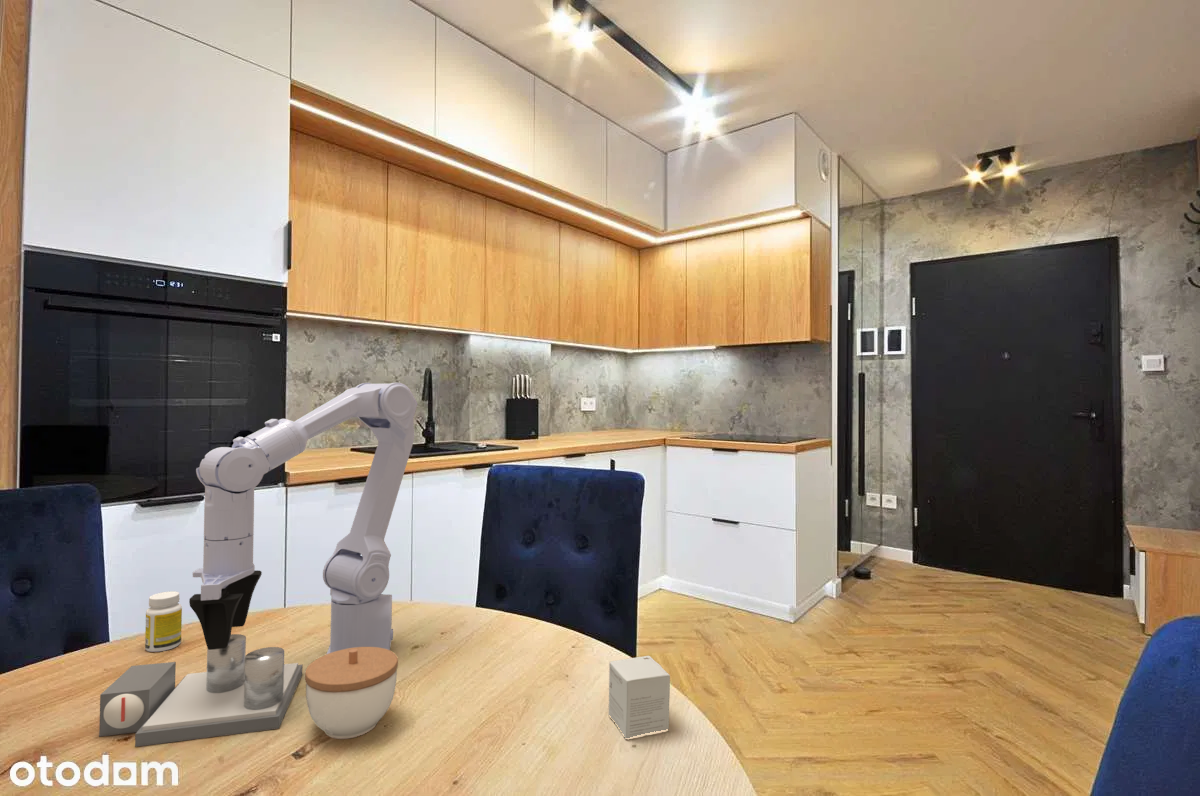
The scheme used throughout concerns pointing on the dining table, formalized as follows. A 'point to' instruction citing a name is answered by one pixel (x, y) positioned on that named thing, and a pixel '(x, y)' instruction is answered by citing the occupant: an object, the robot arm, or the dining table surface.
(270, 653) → the cylinder
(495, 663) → the dining table surface
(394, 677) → the lidded jar
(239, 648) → the cylinder
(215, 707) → the scale
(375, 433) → the robot arm
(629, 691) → the product box
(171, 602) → the supplement bottle
